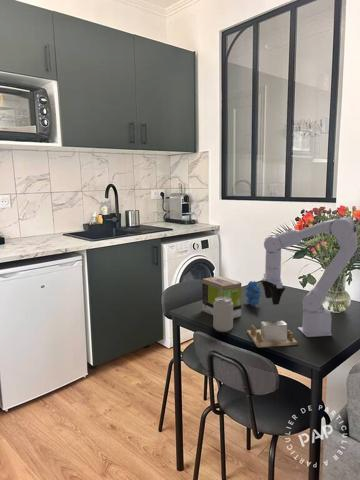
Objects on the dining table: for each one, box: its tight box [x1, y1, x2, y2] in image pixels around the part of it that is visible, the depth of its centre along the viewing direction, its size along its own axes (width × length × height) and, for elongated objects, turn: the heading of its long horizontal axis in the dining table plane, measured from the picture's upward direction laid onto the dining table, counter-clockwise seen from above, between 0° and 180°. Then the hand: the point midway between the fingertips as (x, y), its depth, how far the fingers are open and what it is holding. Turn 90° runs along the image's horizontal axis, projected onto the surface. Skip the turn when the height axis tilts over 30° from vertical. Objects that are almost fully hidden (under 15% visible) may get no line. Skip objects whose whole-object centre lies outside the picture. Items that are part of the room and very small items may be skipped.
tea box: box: [201, 275, 242, 319], centre depth 151 cm, size 15×10×15 cm, turn 32°
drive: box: [260, 320, 288, 342], centre depth 124 cm, size 8×4×6 cm, turn 96°
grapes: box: [244, 280, 262, 307], centre depth 160 cm, size 12×7×12 cm, turn 16°
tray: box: [246, 324, 298, 348], centre depth 127 cm, size 14×12×4 cm
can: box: [212, 297, 234, 333], centre depth 135 cm, size 8×8×12 cm
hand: (272, 300), depth 139 cm, fingers open, 7 cm apart
